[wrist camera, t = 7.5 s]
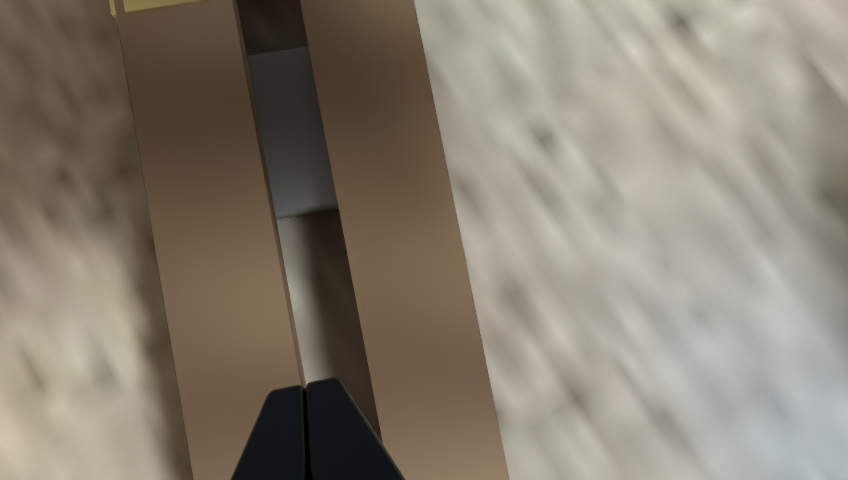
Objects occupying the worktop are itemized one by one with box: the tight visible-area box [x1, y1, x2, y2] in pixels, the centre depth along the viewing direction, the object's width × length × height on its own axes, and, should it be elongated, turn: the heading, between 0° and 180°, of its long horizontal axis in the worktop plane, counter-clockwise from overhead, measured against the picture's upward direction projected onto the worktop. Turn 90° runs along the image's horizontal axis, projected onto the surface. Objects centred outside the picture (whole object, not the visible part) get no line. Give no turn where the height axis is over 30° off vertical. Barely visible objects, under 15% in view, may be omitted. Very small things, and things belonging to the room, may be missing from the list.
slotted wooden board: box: [109, 0, 509, 480], centre depth 17 cm, size 18×6×2 cm, turn 11°
